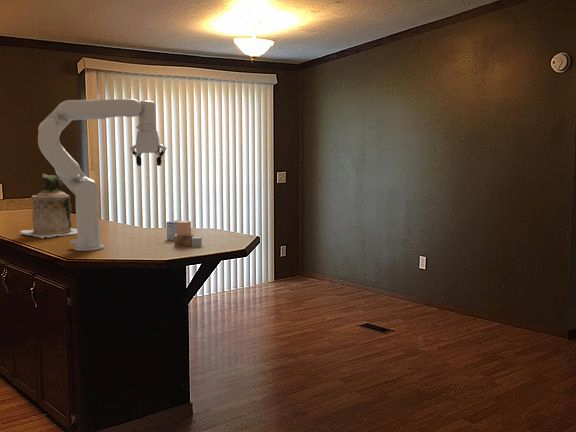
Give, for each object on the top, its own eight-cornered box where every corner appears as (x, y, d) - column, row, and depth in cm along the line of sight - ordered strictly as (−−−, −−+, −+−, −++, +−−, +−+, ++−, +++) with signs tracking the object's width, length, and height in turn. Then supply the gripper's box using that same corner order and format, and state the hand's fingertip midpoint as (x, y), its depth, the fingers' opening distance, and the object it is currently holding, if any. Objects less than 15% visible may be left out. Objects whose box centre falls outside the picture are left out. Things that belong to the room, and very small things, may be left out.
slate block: (192, 247, 258) (191, 238, 258) (192, 245, 262) (192, 237, 262) (201, 246, 259) (200, 238, 258) (201, 245, 263) (201, 236, 262)
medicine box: (177, 237, 287) (176, 220, 286) (184, 237, 285) (183, 220, 284) (166, 239, 281) (165, 221, 280) (173, 240, 278) (172, 222, 277)
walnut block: (174, 247, 260) (174, 236, 259) (175, 244, 268) (175, 233, 267) (192, 246, 261) (192, 235, 260) (193, 243, 269) (192, 233, 268)
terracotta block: (176, 235, 262) (176, 222, 261) (181, 233, 267) (180, 220, 266) (187, 235, 261) (186, 222, 260) (191, 233, 266) (190, 221, 265)
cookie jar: (43, 239, 287) (39, 175, 283) (18, 235, 302) (14, 174, 298) (87, 233, 307) (83, 173, 303) (61, 229, 321) (57, 172, 318)
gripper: (126, 128, 262) (128, 166, 264) (162, 127, 259) (163, 165, 261) (133, 128, 269) (135, 165, 271) (168, 128, 266) (169, 165, 268)
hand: (149, 165), depth 266 cm, fingers open, 9 cm apart
